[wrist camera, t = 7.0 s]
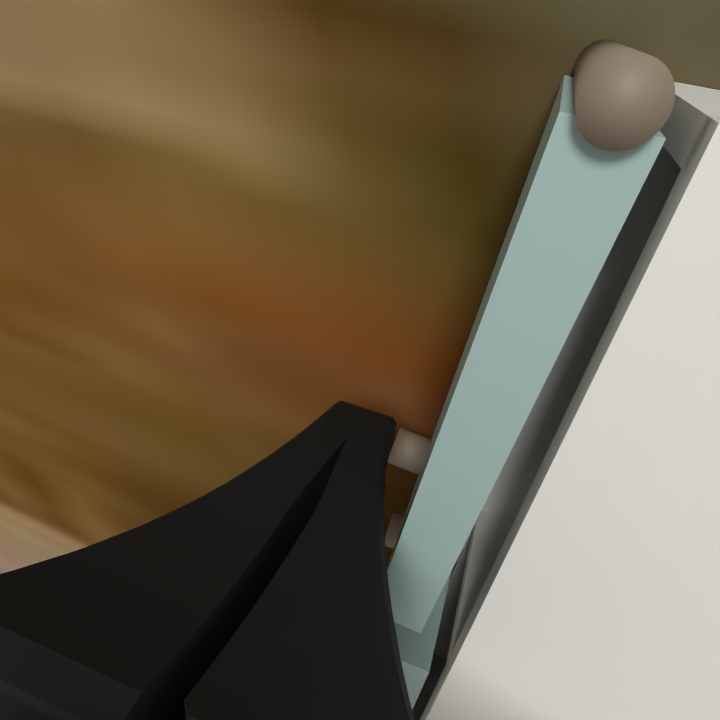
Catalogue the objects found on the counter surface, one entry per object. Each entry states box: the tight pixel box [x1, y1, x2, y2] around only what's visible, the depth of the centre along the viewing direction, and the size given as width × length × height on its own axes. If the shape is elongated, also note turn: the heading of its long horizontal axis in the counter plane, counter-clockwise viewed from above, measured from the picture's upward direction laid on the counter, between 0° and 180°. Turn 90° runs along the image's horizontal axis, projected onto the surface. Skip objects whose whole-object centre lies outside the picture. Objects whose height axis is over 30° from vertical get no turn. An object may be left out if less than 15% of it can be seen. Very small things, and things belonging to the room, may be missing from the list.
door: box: [387, 40, 675, 633], centre depth 9 cm, size 2×10×5 cm, turn 169°
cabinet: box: [385, 82, 720, 720], centre depth 11 cm, size 10×18×5 cm, turn 171°
